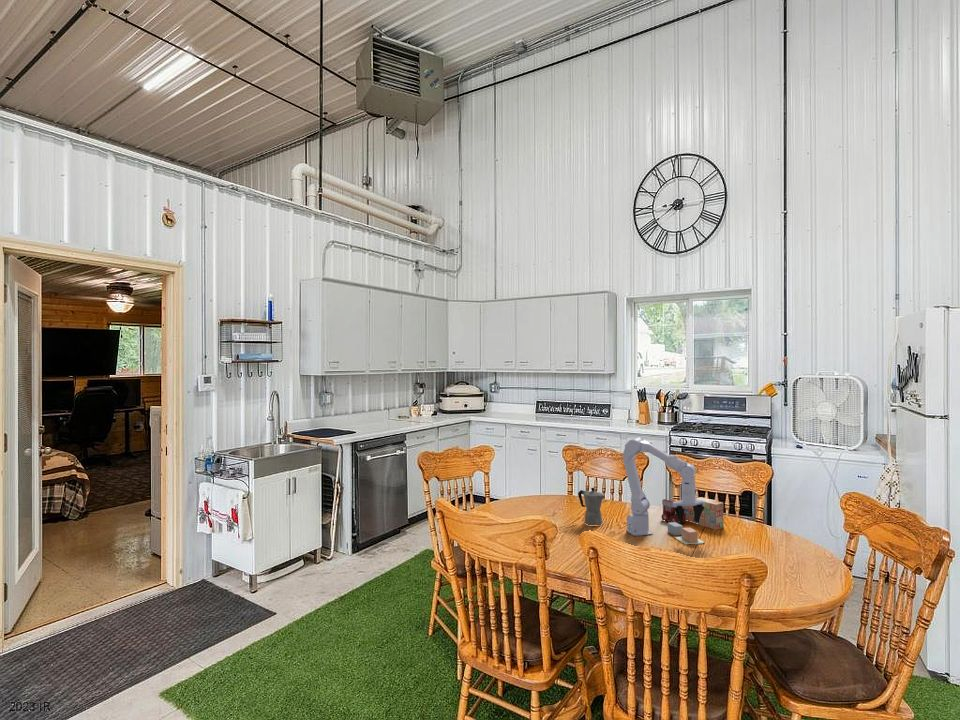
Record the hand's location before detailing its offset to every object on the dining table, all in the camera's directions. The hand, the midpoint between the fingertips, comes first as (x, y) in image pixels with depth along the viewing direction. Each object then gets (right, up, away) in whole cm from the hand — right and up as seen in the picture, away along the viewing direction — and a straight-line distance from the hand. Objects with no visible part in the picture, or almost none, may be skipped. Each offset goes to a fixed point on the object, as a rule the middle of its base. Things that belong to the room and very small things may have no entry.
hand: (688, 522), depth 224 cm
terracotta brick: (0, -8, 0) cm, 8 cm away
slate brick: (-2, -9, +10) cm, 14 cm away
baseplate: (0, -8, 0) cm, 8 cm away
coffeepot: (-38, -9, +27) cm, 47 cm away
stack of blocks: (+16, -9, +25) cm, 32 cm away
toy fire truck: (+4, -9, +28) cm, 30 cm away
